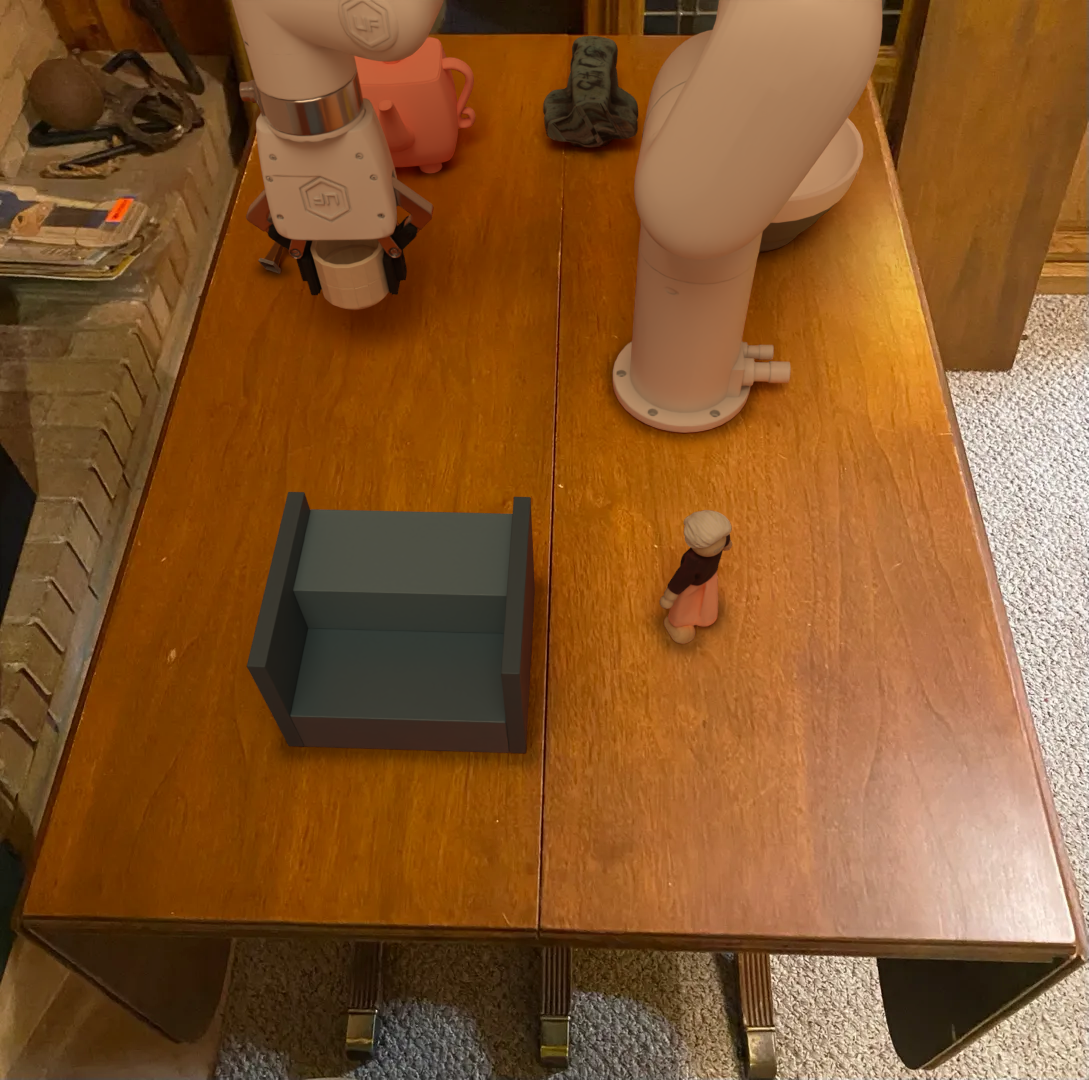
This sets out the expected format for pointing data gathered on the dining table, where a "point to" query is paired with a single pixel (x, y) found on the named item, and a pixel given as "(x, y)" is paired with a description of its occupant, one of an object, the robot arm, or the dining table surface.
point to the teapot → (418, 104)
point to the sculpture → (591, 98)
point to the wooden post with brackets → (272, 258)
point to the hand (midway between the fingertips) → (357, 283)
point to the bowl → (817, 188)
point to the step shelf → (398, 629)
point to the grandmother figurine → (696, 576)
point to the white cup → (350, 272)
